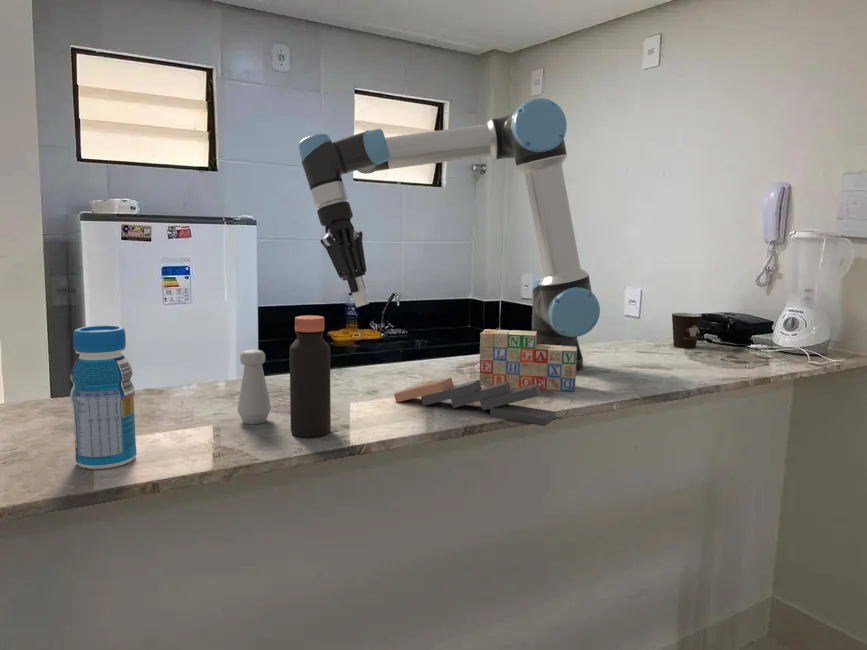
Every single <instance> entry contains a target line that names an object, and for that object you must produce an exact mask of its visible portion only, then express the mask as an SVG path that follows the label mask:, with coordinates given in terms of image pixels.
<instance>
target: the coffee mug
mask: <svg viewBox="0 0 867 650" xmlns="http://www.w3.org/2000/svg"><path fill="white" fill-rule="evenodd" d="M671 319H672V339H673V340H672V342H673V347H674V348H677V349H684V350H685V349H688V350H690V349H691V350H692V349H696V347H697V342H698V338H699V336H701V335H702V334H703V333H704V332H705V331H706V330H707V329H708V328H709V325H710V324H709V322H710V321H709V320H708V319H707V318H705V317H703V315H702V314H699V313H692V312H690V313H689V312H673V313H671ZM702 321H705V323H706V326H705V327H704V329H703V330H702V331H700V327H701V323H702Z"/></svg>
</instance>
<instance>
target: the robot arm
mask: <svg viewBox="0 0 867 650" xmlns="http://www.w3.org/2000/svg"><path fill="white" fill-rule="evenodd" d="M567 126H568V125H567V118H566V115H565V113H564V111H563V109H562V108H561V107H560V106H559V105H558V104H557V103H555V102H554V101H553V100H550V99H548V98H544V97H543V98H542V97H537V98H532V99H528V100H527V101H524V102H522V103H521V104H520V105H519V106H517V107H516V108H515V111H514V112H512V113H510V114H508V115H505V116H502V117H498V118H491V119H489V120H488V121H487V122H486V124H480V125H478V124H477V125H471V126H465V127H463V126H462V127H458V128H457V127H455V128H449V129H448V128H447V129H442V130H433V131H426V132H418V133H411V134H404V135H403V134H402V135H397V136H395V135H394V136H388V137H385V134H384V131H383V130H382V129H381V128H373V129H370V130H365V131H363V132H361V133H359V132H358V133H356V134H353V135H350V136H347V137H343V138H341V139H336V140H332V139H331V137H330V135H329V134H328V133H318V134H312V135H309V136H307V137H304V138H302V139H301V140H300V141H299V143H298V148H297V149H298V151H299V156H300V161H301V162H300V163H301V164H302V167H303V171H304V173H305V177H306V180H307V183H308V187H309V189H310V192H311V194H312V198H313V202H314V206H315V208H317V211H316V213H317V217H318V220H319V224H320V225H321V226H322V227H324V228H325V229H324V230H325V231H324V232H325V236H324V237H322V238H320V244H321V245H322V246H323V247H324V249H325V250H326V252H327V254H328V256H329V258H330V260H331V262H332V264H333V267H334V269H335V270H336V273H337V275H338V277H339V278H340V279H341V280H342V281H343V282H344V281H347V284H348V287H349V288H348V289H349V290H350V293H351V295H352V298H353V301H354V304H355V308H360V307H362V306H365V305H369V304H370V301H369V299H368V296H367V290H366V286H365V283H364V279H363V276H364V275H366V272H367V266H366V265H367V264H366V258H365V251H364V245H363V236H364V234H363V231H357V230H355V227H354V225H353V223H352V221H351V219H352V218H353V217H354V215H353V211H352V208H351V205H350V202H349V201H348V198H349V197H348V193H347V190H346V187H345V183H344V181H343V178H342V175H346V174H348V173H352V172H356V171H357V172H359V173H360V174H364V175H365V174H372V173H375V172H379V171H386V170H393V169H400V168H408V167H416V166H423V165H431V164H437V163H445V162H454V161H461V160H468V159H477V158H485V157H491V158H492V160H502V159H514V161H515V163H514V164H515V167H516V169H517V170H519V171H520V172H522V173H523V174H524V179H525V185H526V190H527V194H528V199H529V204H530V205H529V206H530V210H531V215H532V220H533V227H534V232H535V235H536V242H537V246H538V247H537V248H538V252H539V257H540V261H541V263H540V264H541V267H542V273H543V276H542V277H538V278H535V280H534V281H533V287H532V312H531V314H532V315H531V331H537V345H560V346H576V347H577V357H576V372H577V371H580V370H582V369H583V367H584V359H583V358H584V357H583V355H582V351H581V346H580V344H579V339H578V337H581V336H583V335H586V334H588V333H589V332H591V331H592V330H593V329H594V328H595V326H596V325H597V323H598V321H599V319H600V313H601V307H600V302H599V301H598V299H597V297H596V294H595V293H593V290H592V286H591V281H590V275H589V273H588V272H587V271H586V270H584V269H582V267H581V264H580V259H579V252H578V245H577V242H576V241H577V240H576V235H575V230H574V225H573V220H572V215H571V208H570V203H569V197H568V192H567V186H566V181H565V175H564V169H563V163H564V162H565V160H566V158H567V156H568V155H567V154H568V153H567V149H566V142H565V136H566V133H567Z"/></svg>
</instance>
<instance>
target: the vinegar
mask: <svg viewBox="0 0 867 650" xmlns="http://www.w3.org/2000/svg"><path fill="white" fill-rule="evenodd" d="M294 331H295V333H294V334H296V338H295V340H294V341H293V342H292V343H291V345H290V346H289V394H290V395H289V397H290V399H289V401H290V403H289V404H290V405H289V407H290V408H289V409H290V411H289V412H290V433H291V434H292V435H293V436H295V437H297V438H298V437H299V438H305V439H307V438H308V439H311V438H312V439H313V438H320V437H323V436H326V435H328V434H329V433H330V432H331V428H332V426H331V422H332V421H331V419H332V418H331V413H332V412H331V403H332V402H331V346H330V345H329V343H328V342H327V341H326V340H325V339H324V338H323V335H324V333H325V317H324V316H321V315H311V314H308V315H299V316H295V317H294Z"/></svg>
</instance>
